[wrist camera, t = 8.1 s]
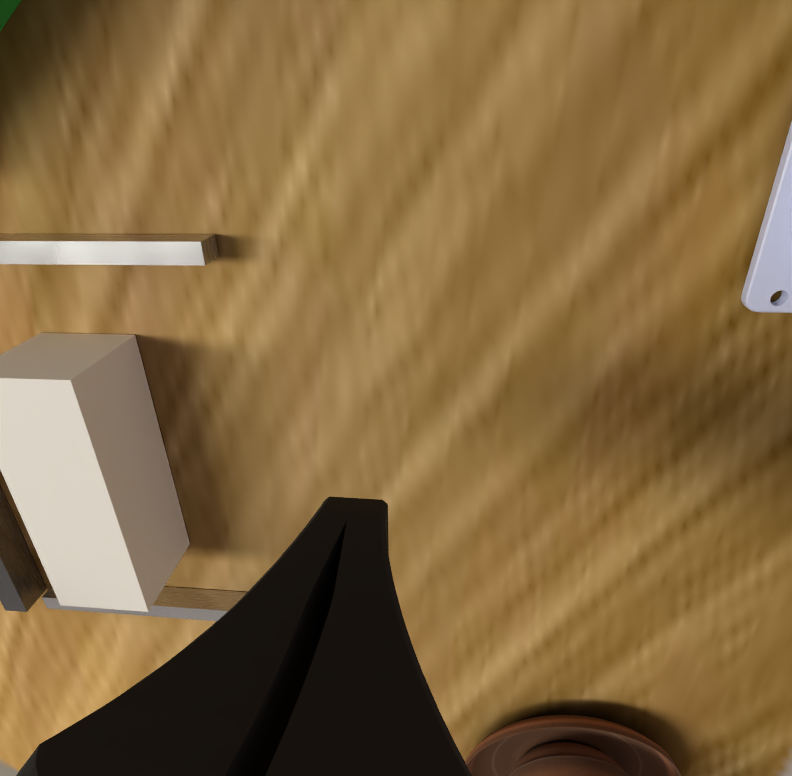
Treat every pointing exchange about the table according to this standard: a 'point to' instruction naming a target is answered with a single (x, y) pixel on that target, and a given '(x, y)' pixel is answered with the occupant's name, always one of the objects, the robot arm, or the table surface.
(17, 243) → the grey pronged frame
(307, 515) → the table surface
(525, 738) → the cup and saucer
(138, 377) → the seated block
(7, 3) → the pipe clamp
